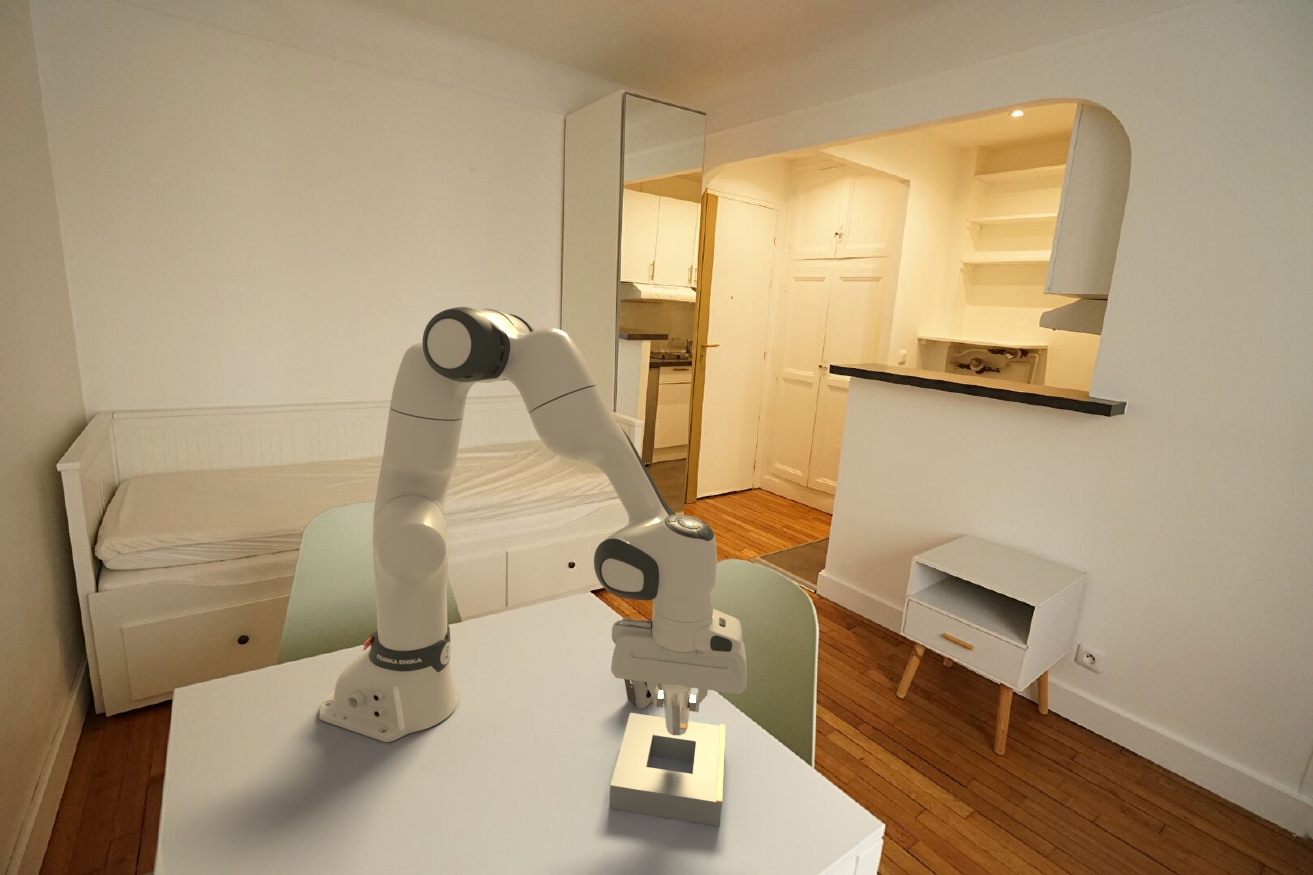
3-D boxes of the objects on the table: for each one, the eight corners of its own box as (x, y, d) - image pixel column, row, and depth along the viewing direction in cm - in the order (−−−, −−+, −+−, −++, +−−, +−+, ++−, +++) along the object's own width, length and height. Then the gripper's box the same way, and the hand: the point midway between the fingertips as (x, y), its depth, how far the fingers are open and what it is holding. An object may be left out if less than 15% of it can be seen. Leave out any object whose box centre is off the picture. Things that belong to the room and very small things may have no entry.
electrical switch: (640, 712, 110) (639, 664, 108) (619, 702, 113) (617, 655, 111) (672, 688, 117) (671, 643, 115) (651, 679, 120) (650, 635, 119)
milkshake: (670, 711, 97) (670, 656, 95) (697, 726, 94) (698, 670, 92) (651, 727, 94) (651, 670, 92) (679, 743, 91) (679, 685, 88)
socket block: (609, 808, 89) (610, 783, 88) (628, 733, 104) (630, 711, 103) (719, 826, 87) (722, 800, 86) (723, 747, 102) (725, 724, 101)
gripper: (608, 627, 88) (604, 711, 91) (751, 644, 86) (743, 729, 89) (616, 606, 94) (613, 685, 97) (750, 621, 92) (742, 702, 95)
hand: (676, 706), depth 93 cm, fingers closed on milkshake, 4 cm apart
